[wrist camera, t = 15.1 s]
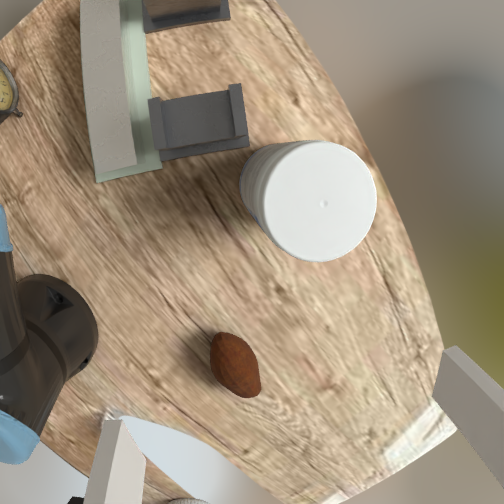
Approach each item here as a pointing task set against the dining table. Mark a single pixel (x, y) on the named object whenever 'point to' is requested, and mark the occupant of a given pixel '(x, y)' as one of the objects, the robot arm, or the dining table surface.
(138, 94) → the mat
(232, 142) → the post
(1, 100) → the alarm clock
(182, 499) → the ramekin
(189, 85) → the dining table surface
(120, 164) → the rail
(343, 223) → the supplement tub
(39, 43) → the dining table surface
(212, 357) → the potato
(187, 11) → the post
